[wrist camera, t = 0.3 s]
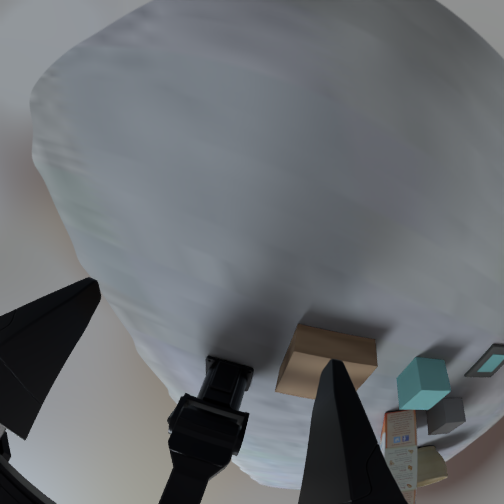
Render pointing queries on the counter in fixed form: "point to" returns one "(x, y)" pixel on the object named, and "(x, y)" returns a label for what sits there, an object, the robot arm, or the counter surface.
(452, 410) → the charcoal cube
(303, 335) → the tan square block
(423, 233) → the counter surface
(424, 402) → the teal cube
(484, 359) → the tile
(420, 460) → the planter bowl
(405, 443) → the cracker box
